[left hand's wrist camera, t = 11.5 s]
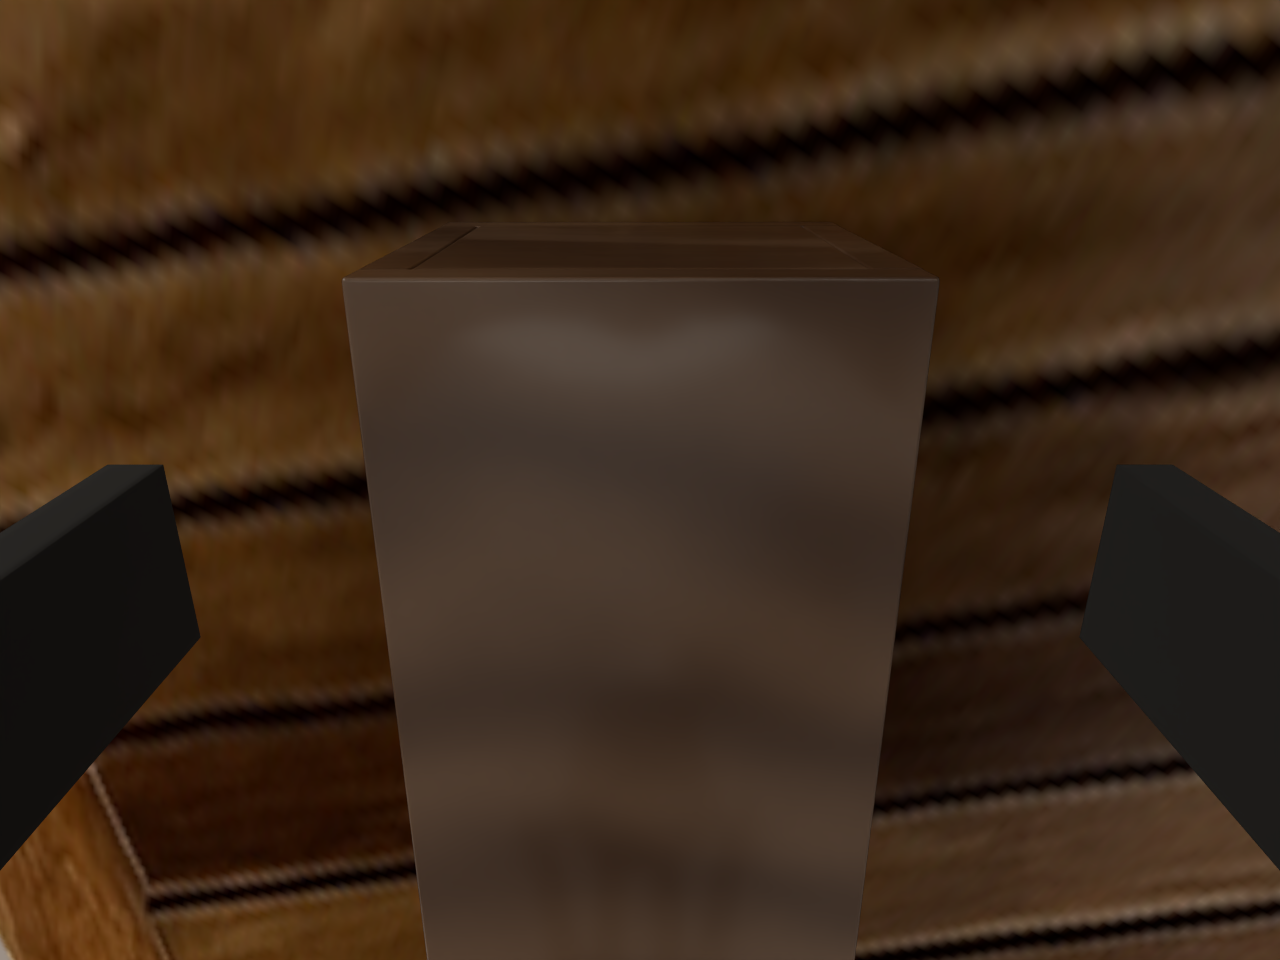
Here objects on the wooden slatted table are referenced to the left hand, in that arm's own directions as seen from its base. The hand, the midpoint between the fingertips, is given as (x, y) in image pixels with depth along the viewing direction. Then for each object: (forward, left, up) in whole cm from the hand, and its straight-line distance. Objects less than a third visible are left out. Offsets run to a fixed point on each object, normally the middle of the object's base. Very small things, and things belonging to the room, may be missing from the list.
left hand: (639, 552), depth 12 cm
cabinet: (+2, +7, -16) cm, 18 cm away
